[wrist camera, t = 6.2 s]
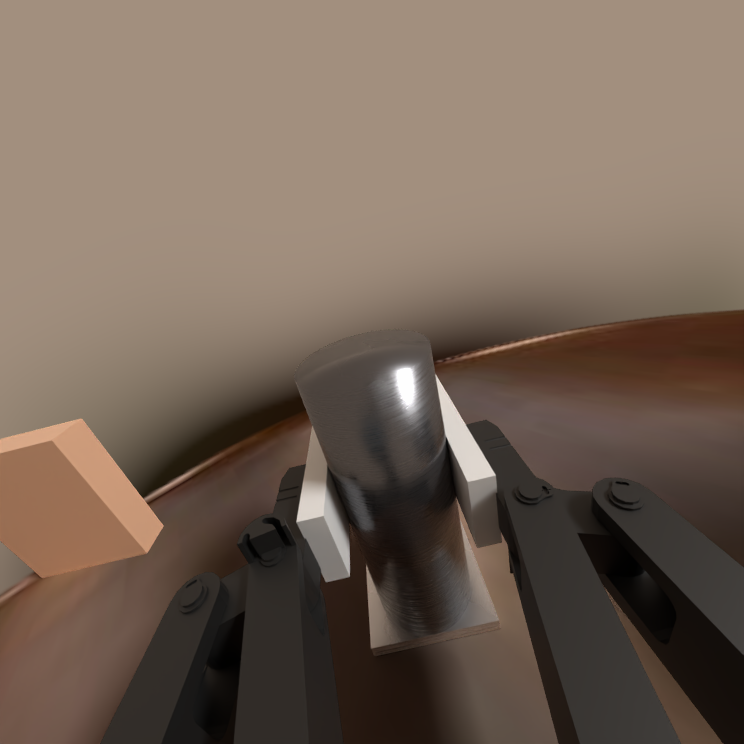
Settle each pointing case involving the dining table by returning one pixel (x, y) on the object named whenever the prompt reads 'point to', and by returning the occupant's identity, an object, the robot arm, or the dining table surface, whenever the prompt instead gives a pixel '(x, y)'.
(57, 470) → the tile
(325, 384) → the metal post on base
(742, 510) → the dining table surface
